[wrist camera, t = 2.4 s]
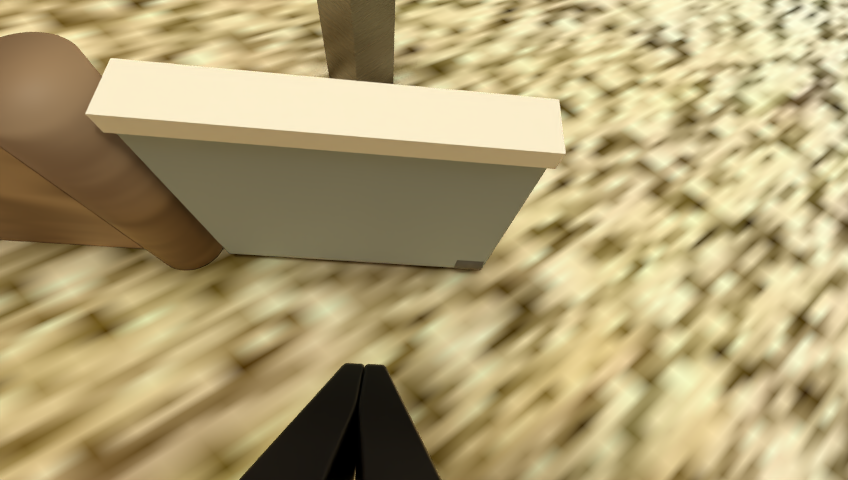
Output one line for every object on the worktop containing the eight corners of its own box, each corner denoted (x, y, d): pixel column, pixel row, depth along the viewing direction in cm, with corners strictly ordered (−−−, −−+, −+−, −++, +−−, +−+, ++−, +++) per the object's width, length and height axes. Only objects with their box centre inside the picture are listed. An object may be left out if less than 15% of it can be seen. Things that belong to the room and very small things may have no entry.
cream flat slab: (227, 259, 19) (84, 113, 10) (236, 223, 20) (110, 58, 11) (482, 275, 20) (565, 153, 11) (481, 240, 20) (559, 99, 11)
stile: (359, 114, 23) (340, -109, 13) (326, 84, 24) (286, -150, 14) (396, 90, 24) (404, -136, 14) (364, 61, 24) (351, -173, 15)
